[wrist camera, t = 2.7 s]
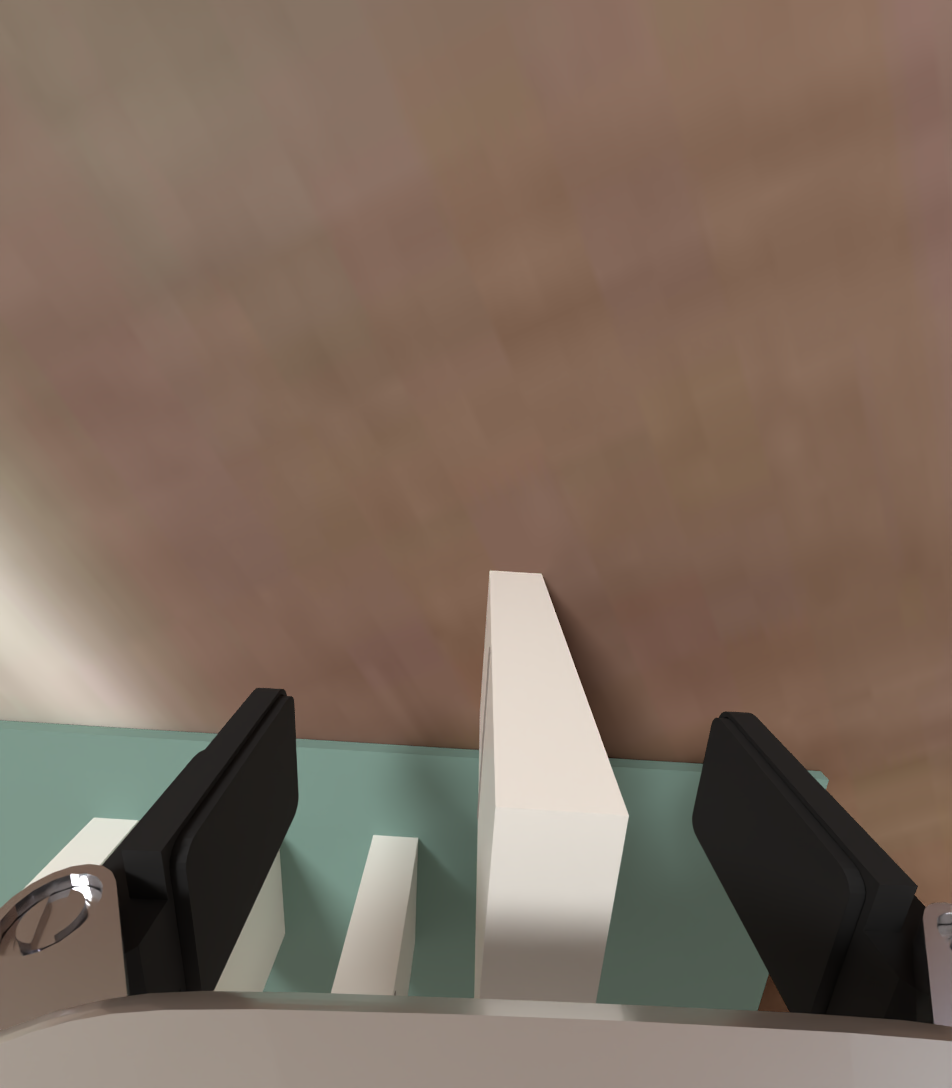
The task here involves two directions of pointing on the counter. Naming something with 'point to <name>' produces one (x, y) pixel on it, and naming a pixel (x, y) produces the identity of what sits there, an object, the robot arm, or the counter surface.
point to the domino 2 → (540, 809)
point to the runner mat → (442, 868)
